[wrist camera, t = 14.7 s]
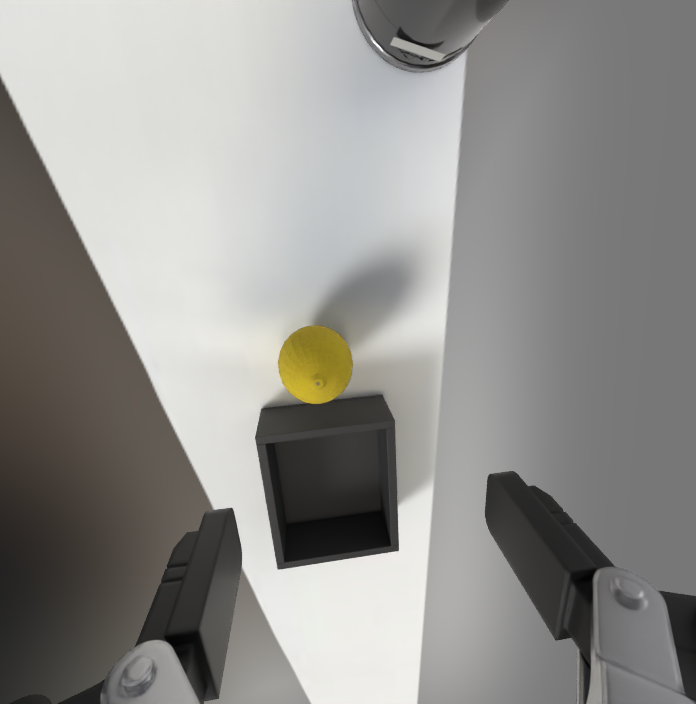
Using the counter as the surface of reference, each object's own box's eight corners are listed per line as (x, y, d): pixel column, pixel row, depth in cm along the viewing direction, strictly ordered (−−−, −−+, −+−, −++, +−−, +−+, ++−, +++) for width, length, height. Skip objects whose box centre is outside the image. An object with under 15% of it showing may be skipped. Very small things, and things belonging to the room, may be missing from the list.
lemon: (349, 318, 31) (364, 346, 24) (342, 379, 33) (354, 423, 25) (282, 312, 31) (276, 340, 23) (279, 375, 32) (272, 420, 25)
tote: (261, 408, 33) (254, 437, 28) (382, 394, 34) (394, 420, 29) (280, 528, 37) (277, 570, 33) (387, 513, 38) (399, 551, 34)
